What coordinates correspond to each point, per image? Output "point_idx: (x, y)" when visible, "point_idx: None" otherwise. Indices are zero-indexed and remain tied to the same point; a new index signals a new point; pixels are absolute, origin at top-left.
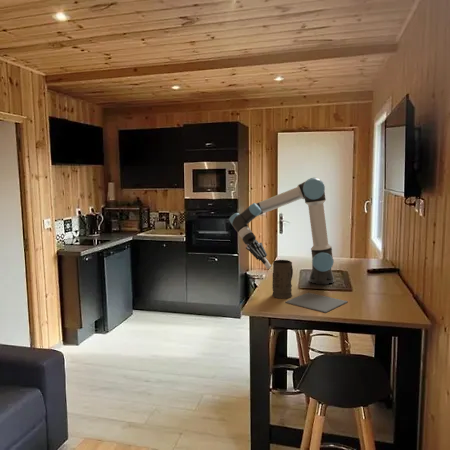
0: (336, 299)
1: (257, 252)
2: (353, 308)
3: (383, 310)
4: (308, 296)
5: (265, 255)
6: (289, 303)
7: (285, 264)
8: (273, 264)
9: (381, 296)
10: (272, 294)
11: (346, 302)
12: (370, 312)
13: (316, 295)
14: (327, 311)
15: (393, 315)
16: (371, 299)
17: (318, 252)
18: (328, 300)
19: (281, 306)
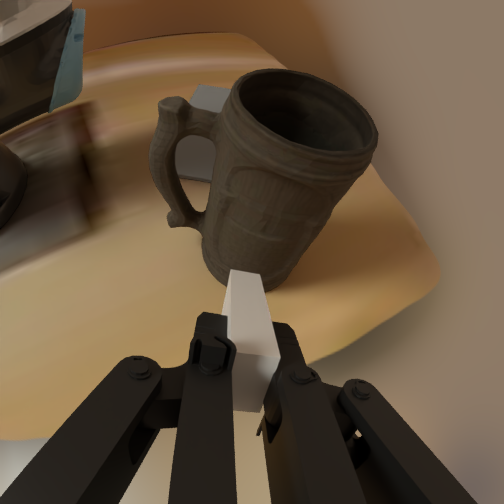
0: (197, 99)
1: (348, 491)
2: (238, 78)
3: (217, 53)
4: (210, 156)
5: (226, 346)
6: None
7: (335, 93)
8: (366, 167)
9: (118, 64)
10: (279, 283)
11: (205, 86)
12: (243, 63)
13: (183, 141)
14: None
15: (236, 48)
16: (149, 67)
17: (68, 17)
18: (218, 110)
19: (355, 204)
